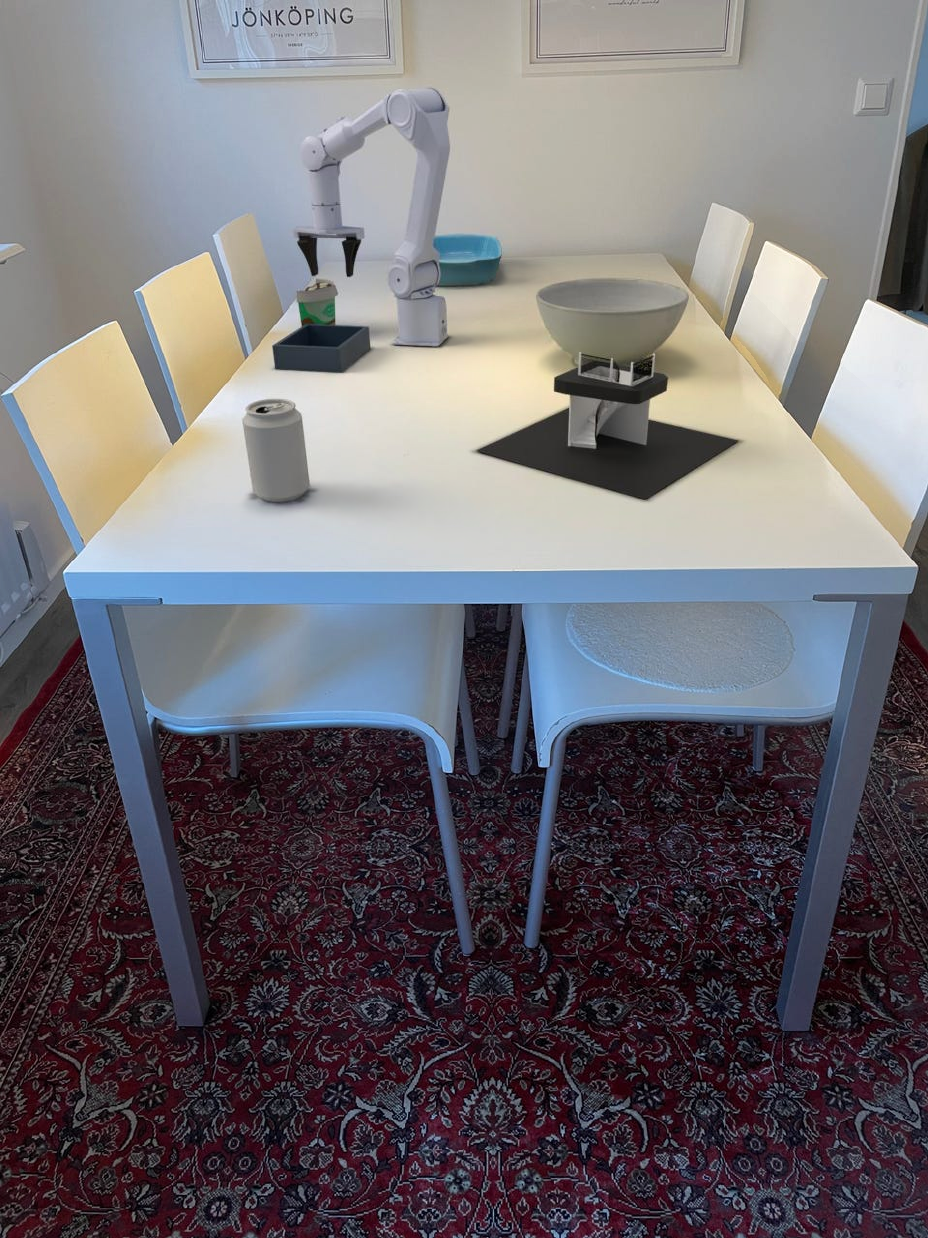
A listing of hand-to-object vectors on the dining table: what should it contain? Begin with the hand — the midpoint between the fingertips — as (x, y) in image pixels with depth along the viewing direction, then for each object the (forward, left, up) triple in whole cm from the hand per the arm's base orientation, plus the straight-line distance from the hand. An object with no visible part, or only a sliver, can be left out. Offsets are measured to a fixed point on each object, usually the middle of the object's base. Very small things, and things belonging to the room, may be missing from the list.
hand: (332, 275), depth 193 cm
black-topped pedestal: (-64, +59, -11) cm, 88 cm away
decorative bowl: (-59, +16, -11) cm, 62 cm away
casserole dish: (-12, -56, -11) cm, 58 cm away
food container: (0, +7, -11) cm, 13 cm away
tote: (-6, +23, -10) cm, 26 cm away
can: (-24, +84, -11) cm, 88 cm away
